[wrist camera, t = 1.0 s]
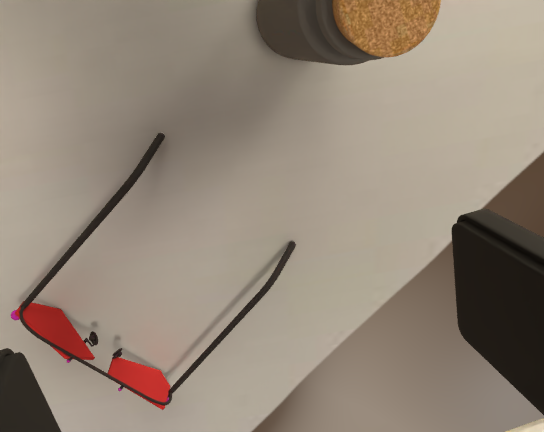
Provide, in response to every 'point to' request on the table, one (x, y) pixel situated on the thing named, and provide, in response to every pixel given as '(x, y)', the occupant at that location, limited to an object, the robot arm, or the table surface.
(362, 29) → the bottle
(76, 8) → the table surface
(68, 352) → the glasses
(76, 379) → the table surface
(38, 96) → the table surface
